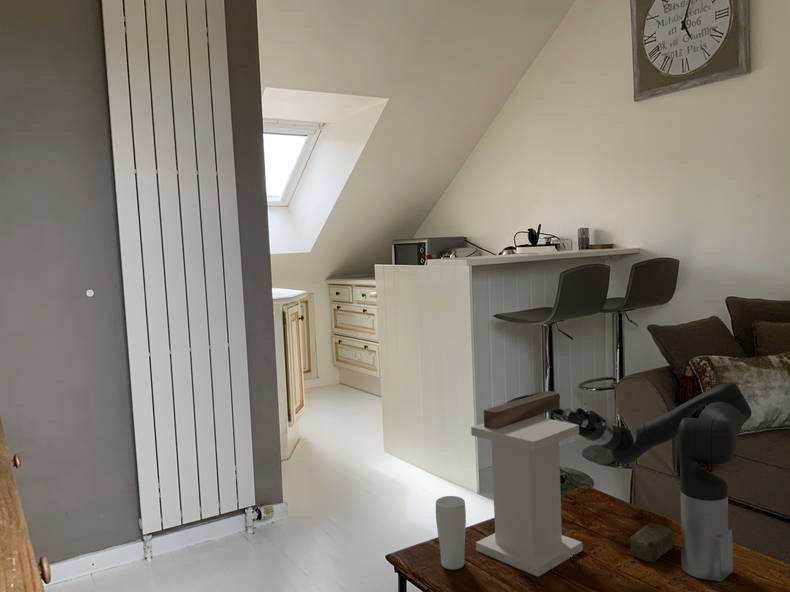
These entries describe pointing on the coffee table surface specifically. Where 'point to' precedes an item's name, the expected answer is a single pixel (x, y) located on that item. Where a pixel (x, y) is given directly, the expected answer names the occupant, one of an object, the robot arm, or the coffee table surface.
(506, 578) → the coffee table surface
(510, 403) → the walnut bar
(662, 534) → the stone block
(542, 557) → the shelf stand
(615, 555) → the coffee table surface
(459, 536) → the drinking glass
